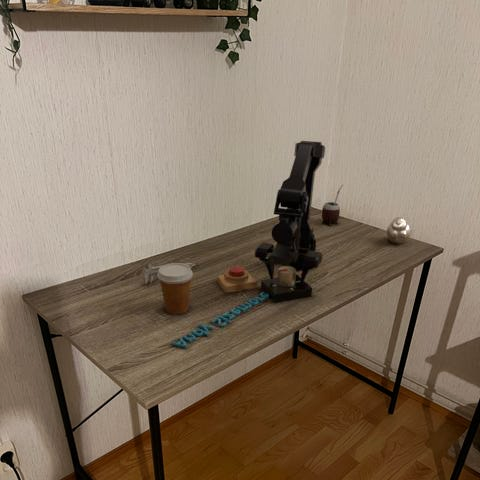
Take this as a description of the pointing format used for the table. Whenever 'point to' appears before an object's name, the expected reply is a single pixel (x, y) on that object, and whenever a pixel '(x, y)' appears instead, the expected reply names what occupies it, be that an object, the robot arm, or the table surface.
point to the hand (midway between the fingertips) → (286, 281)
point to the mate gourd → (331, 211)
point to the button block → (236, 282)
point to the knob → (286, 276)
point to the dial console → (285, 290)
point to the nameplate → (205, 327)
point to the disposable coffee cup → (175, 286)
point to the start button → (236, 271)
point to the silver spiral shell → (399, 230)
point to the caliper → (155, 272)
